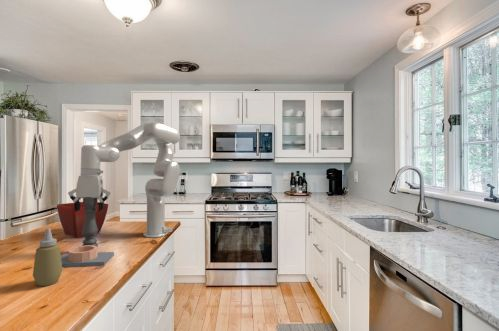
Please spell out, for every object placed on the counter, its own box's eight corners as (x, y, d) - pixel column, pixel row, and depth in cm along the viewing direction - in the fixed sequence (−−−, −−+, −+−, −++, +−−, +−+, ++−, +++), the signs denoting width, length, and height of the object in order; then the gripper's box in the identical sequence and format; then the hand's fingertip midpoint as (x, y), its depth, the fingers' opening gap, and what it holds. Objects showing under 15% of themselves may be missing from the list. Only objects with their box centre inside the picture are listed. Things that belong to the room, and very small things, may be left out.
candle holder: (90, 254, 120) (91, 197, 120) (78, 253, 122) (78, 197, 121) (100, 250, 127) (101, 196, 126) (89, 249, 128) (89, 195, 128)
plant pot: (109, 233, 157) (109, 203, 157) (73, 240, 141) (73, 208, 141) (91, 228, 167) (91, 200, 167) (55, 235, 151) (55, 204, 151)
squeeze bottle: (43, 278, 96) (43, 226, 96) (67, 277, 97) (67, 226, 97) (26, 288, 88) (26, 232, 88) (52, 288, 89) (53, 232, 89)
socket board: (113, 255, 120) (114, 243, 120) (104, 265, 108) (104, 252, 108) (63, 257, 117) (63, 245, 117) (47, 267, 105) (48, 254, 105)
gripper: (113, 173, 129) (112, 209, 129) (73, 172, 126) (72, 209, 126) (108, 173, 121) (106, 212, 121) (65, 172, 119) (63, 212, 118)
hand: (89, 210), depth 124 cm, fingers open, 9 cm apart
